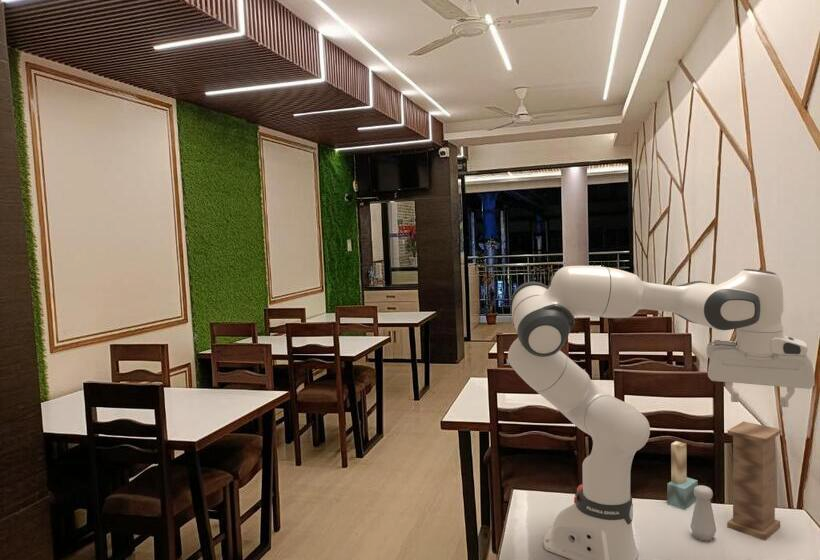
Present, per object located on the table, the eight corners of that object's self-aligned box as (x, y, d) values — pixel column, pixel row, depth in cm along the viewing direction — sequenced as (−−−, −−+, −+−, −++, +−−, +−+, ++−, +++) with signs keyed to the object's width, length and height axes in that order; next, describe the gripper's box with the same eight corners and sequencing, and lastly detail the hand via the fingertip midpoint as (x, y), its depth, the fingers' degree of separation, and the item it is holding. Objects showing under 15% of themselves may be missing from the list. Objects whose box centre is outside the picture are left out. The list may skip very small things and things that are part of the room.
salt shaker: (719, 543, 144) (719, 493, 143) (694, 542, 146) (694, 492, 145) (711, 531, 150) (711, 483, 149) (688, 530, 151) (687, 482, 150)
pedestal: (727, 527, 152) (727, 430, 150) (743, 514, 158) (743, 421, 156) (765, 540, 145) (766, 439, 143) (780, 526, 151) (781, 429, 149)
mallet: (666, 446, 165) (684, 450, 161) (680, 438, 170) (697, 443, 166) (667, 504, 166) (684, 509, 162) (680, 495, 171) (697, 500, 167)
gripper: (705, 342, 131) (705, 402, 132) (816, 348, 120) (815, 413, 121) (707, 337, 136) (707, 395, 137) (813, 342, 126) (812, 405, 127)
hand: (759, 403), depth 129 cm, fingers open, 8 cm apart
